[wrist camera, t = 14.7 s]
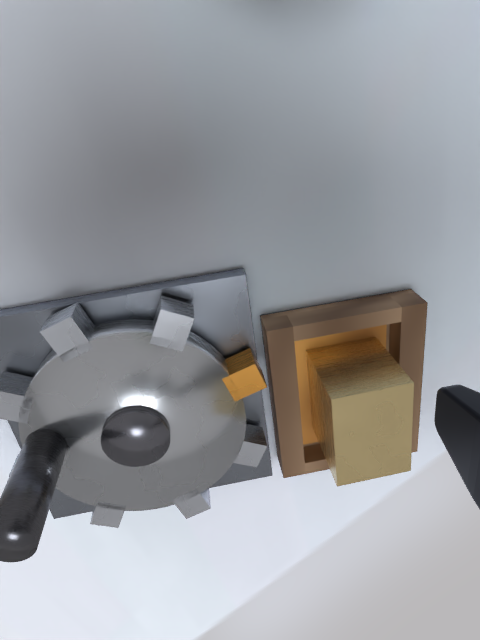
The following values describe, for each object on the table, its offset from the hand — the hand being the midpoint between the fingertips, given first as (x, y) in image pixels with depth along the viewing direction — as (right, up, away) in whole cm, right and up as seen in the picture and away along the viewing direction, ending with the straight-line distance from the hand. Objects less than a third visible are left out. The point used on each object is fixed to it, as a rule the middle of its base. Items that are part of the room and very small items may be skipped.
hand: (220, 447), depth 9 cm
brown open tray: (+6, -1, +15) cm, 16 cm away
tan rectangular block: (+6, -1, +14) cm, 15 cm away
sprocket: (-5, -1, +14) cm, 14 cm away
